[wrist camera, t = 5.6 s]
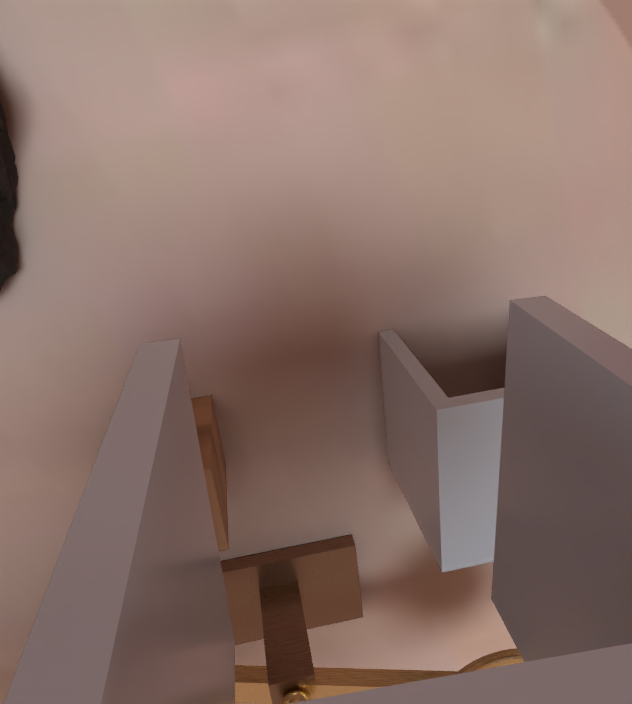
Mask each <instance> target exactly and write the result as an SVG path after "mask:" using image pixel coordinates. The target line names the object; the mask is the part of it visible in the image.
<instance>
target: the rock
mask: <svg viewBox="0 0 632 704" xmlns="http://www.w3.org/2000/svg"><path fill="white" fill-rule="evenodd" d="M17 179H18V176H17V168H16V165H15V155H14V152H13V148H12V144H11V142H10V139H9V136H8V130H7V125H6V120H5V116H4V112H3V108H2V105H1V102H0V290H1V287H2V285H3V284H4V282H5V281H6V279H8V278H9V277H11V276H12V275H14V274H15V273H16V271H17V263H18V252H17V244H16V242H15V240H14V235H13V230H12V227H11V219H12V214H13V212H14V210H15V208H16V198H15V188H16V185H17Z"/></svg>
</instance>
